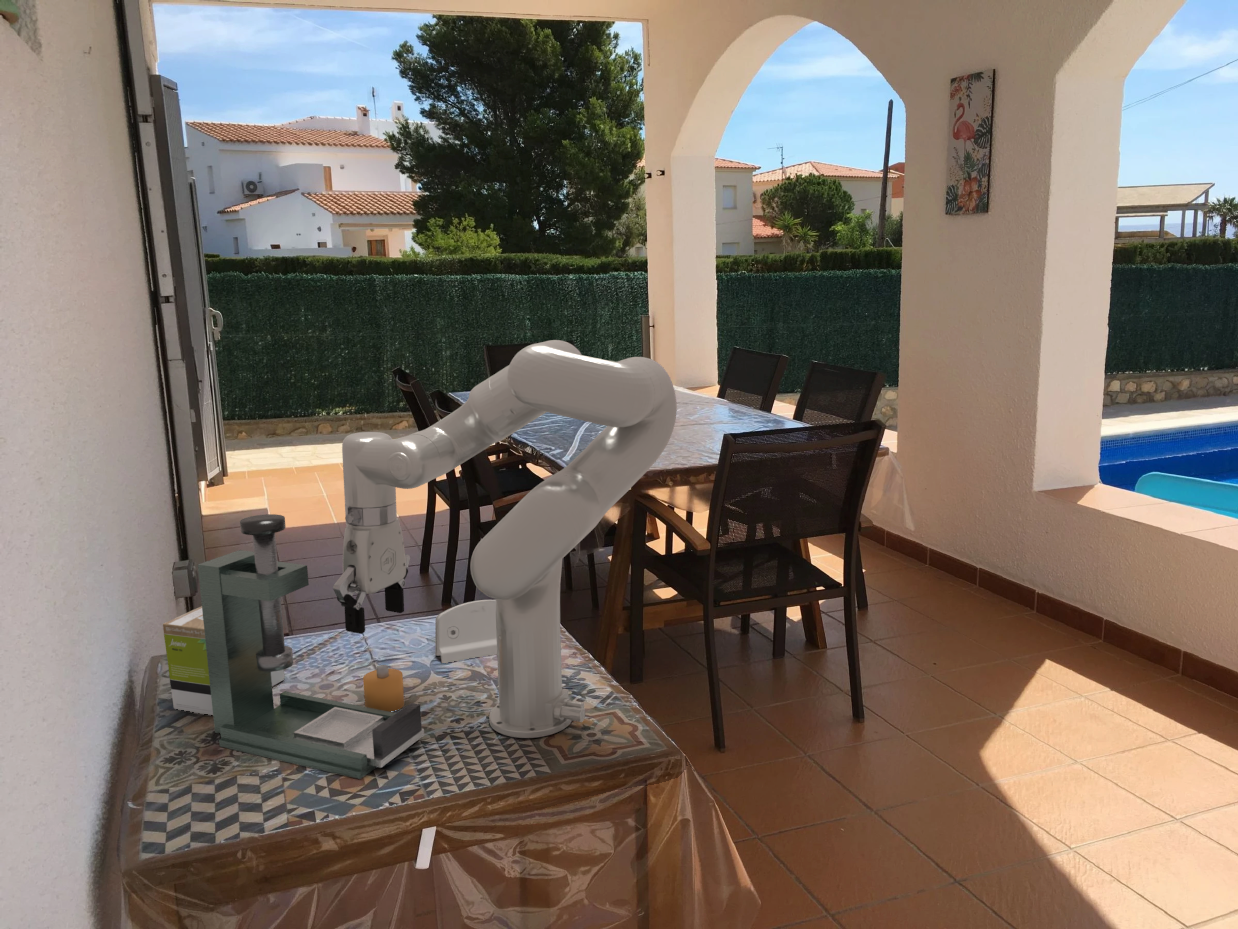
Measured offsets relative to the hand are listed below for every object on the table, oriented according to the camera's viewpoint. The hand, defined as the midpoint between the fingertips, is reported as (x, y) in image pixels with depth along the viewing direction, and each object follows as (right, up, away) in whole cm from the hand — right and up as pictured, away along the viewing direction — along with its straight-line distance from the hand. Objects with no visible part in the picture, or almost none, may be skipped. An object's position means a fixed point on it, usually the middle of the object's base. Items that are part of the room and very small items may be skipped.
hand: (375, 621), depth 148 cm
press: (-8, -16, -8) cm, 19 cm away
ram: (-13, -5, -8) cm, 16 cm away
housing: (+1, -14, +2) cm, 14 cm away
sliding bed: (0, -15, -11) cm, 19 cm away
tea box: (-25, -13, +7) cm, 30 cm away
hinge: (+13, -10, +25) cm, 30 cm away
